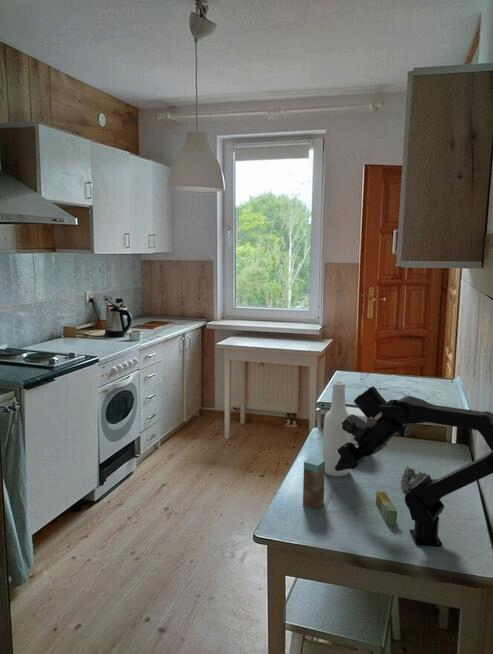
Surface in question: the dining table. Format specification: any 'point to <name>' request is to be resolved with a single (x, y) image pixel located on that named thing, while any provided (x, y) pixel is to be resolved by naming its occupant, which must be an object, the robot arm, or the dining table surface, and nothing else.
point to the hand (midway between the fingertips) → (344, 463)
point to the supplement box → (359, 414)
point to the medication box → (386, 508)
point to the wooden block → (313, 482)
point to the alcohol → (335, 431)
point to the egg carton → (414, 477)
